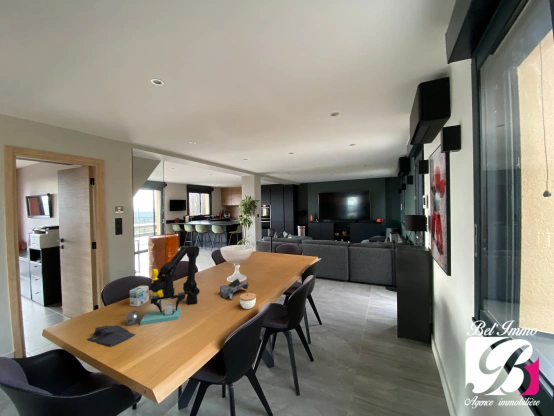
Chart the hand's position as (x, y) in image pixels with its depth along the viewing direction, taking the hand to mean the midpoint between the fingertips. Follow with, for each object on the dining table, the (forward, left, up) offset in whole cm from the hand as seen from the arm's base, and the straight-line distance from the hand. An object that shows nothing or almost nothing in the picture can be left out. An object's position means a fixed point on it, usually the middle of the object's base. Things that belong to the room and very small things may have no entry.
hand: (169, 311), depth 138 cm
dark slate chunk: (+25, +13, -4) cm, 29 cm away
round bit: (+19, +1, -4) cm, 19 cm away
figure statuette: (+13, -37, -4) cm, 39 cm away
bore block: (+4, 0, -4) cm, 5 cm away
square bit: (0, 0, -4) cm, 4 cm away
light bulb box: (+24, -30, -4) cm, 39 cm away
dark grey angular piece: (-42, -23, -4) cm, 48 cm away
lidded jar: (-48, +3, -4) cm, 48 cm away
